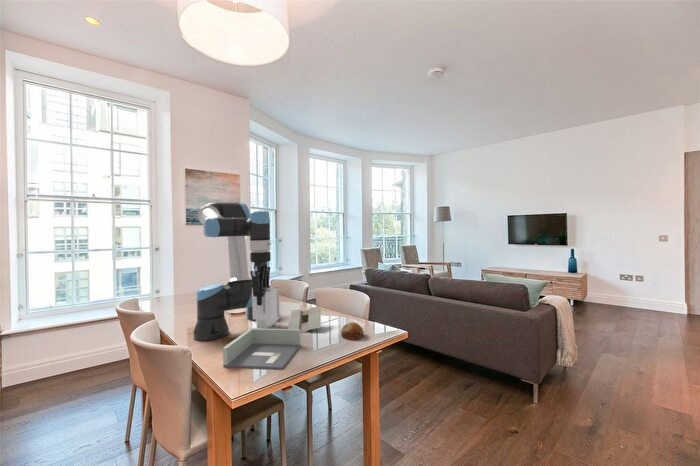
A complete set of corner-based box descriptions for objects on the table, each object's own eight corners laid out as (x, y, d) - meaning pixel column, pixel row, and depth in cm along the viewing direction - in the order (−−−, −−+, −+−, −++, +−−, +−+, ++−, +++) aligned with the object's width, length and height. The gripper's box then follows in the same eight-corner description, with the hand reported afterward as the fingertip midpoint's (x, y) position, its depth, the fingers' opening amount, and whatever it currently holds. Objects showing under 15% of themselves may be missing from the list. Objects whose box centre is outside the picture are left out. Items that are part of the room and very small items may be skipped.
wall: (325, 336, 149) (324, 310, 160) (321, 327, 143) (320, 301, 155) (292, 342, 150) (293, 316, 161) (287, 333, 144) (288, 306, 155)
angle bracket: (279, 318, 118) (278, 287, 118) (271, 324, 110) (270, 291, 110) (254, 317, 119) (253, 287, 119) (245, 324, 111) (244, 291, 111)
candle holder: (264, 330, 149) (263, 305, 149) (250, 327, 154) (250, 303, 154) (279, 324, 157) (278, 301, 157) (265, 322, 162) (265, 299, 162)
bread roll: (355, 339, 144) (350, 322, 146) (370, 334, 137) (364, 317, 140) (340, 345, 137) (334, 327, 139) (354, 340, 130) (348, 322, 133)
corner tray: (223, 366, 109) (222, 348, 109) (251, 343, 131) (250, 328, 131) (282, 369, 106) (281, 350, 106) (300, 345, 128) (300, 329, 128)
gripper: (261, 252, 110) (263, 318, 110) (276, 249, 124) (278, 307, 125) (241, 253, 111) (243, 317, 111) (259, 250, 125) (260, 307, 126)
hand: (261, 312), depth 118 cm, fingers closed on angle bracket, 2 cm apart
